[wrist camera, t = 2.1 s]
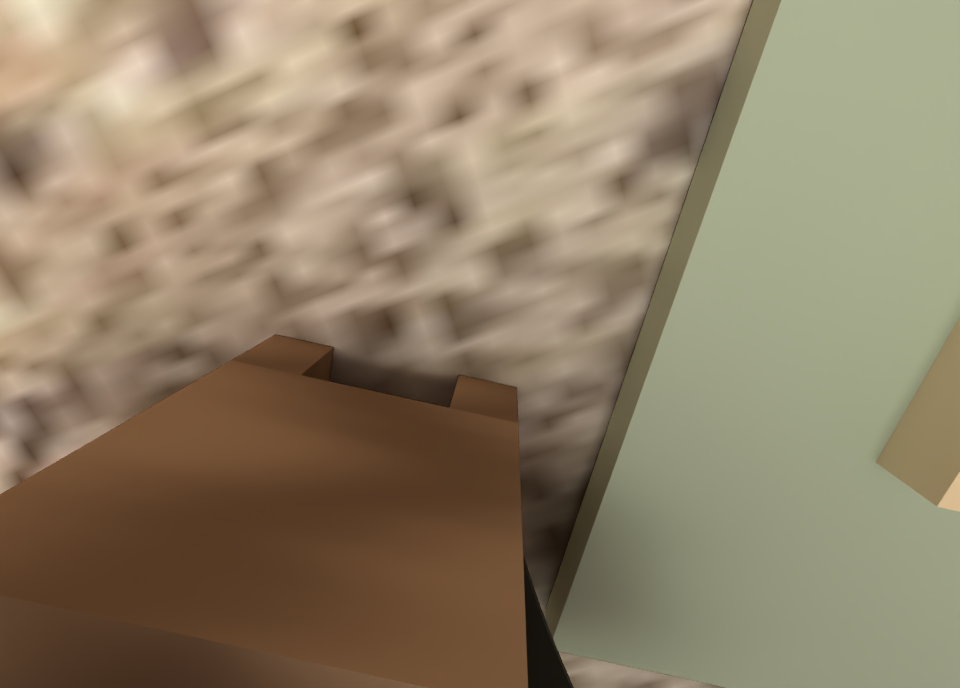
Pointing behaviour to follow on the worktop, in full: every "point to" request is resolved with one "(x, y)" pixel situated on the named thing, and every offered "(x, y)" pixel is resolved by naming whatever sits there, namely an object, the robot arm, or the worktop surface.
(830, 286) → the wall board
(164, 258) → the worktop surface
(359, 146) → the worktop surface
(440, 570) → the brown block
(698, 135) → the worktop surface
